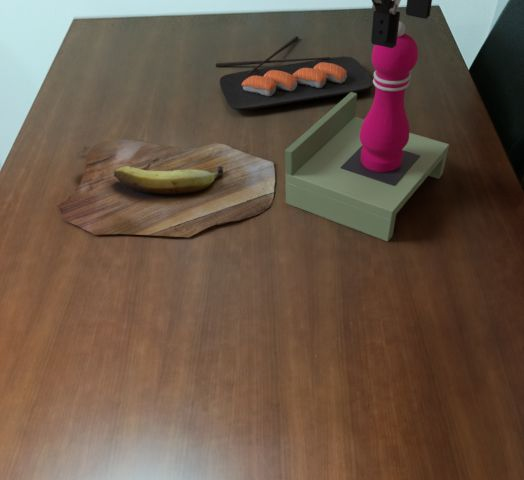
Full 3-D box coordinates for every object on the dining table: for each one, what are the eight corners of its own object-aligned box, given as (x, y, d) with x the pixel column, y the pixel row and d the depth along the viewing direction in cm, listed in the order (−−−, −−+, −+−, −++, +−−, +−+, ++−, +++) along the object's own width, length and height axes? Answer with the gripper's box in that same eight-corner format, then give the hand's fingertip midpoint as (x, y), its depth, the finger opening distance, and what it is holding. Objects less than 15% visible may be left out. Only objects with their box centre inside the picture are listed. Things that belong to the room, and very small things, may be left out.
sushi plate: (231, 120, 110) (229, 100, 107) (204, 52, 128) (201, 34, 125) (377, 96, 113) (379, 76, 110) (329, 33, 132) (330, 15, 129)
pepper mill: (392, 180, 86) (413, 38, 71) (348, 166, 89) (360, 27, 73) (412, 156, 90) (437, 16, 74) (370, 143, 93) (385, 6, 77)
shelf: (442, 174, 96) (454, 120, 89) (387, 242, 86) (396, 187, 79) (346, 143, 103) (350, 91, 96) (285, 203, 93) (284, 149, 86)
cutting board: (42, 235, 90) (34, 215, 87) (92, 139, 107) (86, 120, 104) (267, 243, 87) (266, 222, 84) (281, 143, 104) (281, 123, 101)
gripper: (419, -118, 56) (397, 64, 69) (486, -158, 64) (455, 10, 77) (350, -124, 59) (341, 51, 72) (422, -161, 67) (403, 1, 80)
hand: (400, 30), depth 75 cm, fingers open, 9 cm apart
